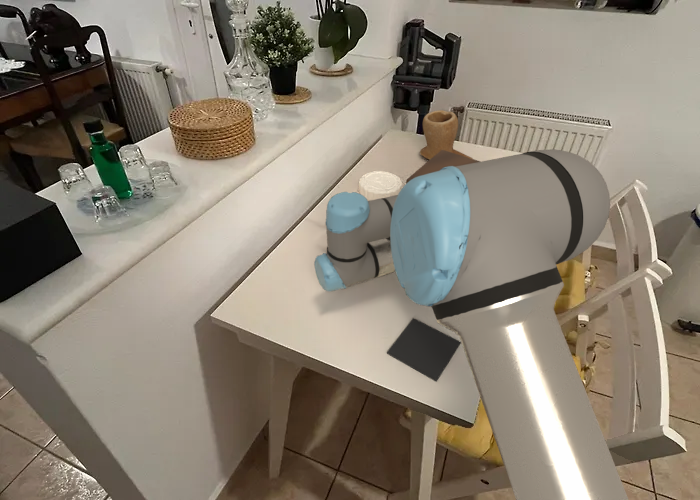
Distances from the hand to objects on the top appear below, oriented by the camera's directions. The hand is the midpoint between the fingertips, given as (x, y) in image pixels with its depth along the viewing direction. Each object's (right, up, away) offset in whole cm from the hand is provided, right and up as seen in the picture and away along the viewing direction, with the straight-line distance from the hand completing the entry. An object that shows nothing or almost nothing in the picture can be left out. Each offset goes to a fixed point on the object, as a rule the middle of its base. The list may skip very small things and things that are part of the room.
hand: (480, 227), depth 95 cm
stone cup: (-1, +22, +38) cm, 44 cm away
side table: (-4, 0, +12) cm, 12 cm away
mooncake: (-21, +11, +24) cm, 34 cm away
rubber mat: (-15, -23, -17) cm, 32 cm away
